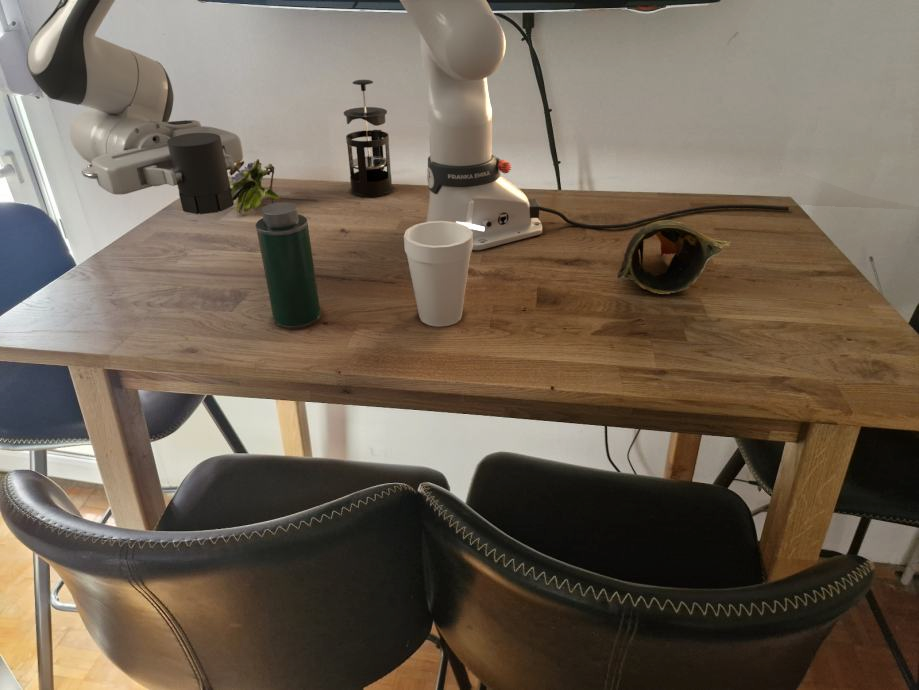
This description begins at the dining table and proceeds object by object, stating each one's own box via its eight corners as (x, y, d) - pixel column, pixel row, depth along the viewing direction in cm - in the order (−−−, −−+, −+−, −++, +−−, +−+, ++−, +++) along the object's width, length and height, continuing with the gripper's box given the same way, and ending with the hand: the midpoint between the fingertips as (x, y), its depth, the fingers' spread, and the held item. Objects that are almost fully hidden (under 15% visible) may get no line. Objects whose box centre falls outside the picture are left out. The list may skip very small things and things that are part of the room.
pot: (691, 200, 110) (726, 203, 93) (707, 262, 113) (744, 277, 95) (593, 232, 113) (609, 241, 95) (610, 293, 115) (629, 313, 98)
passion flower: (248, 227, 140) (246, 173, 141) (293, 221, 137) (291, 166, 138) (215, 214, 129) (214, 155, 130) (263, 207, 126) (261, 147, 127)
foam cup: (449, 338, 90) (447, 253, 83) (396, 321, 94) (390, 238, 87) (483, 310, 97) (484, 228, 90) (432, 295, 101) (429, 216, 94)
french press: (383, 200, 138) (375, 86, 126) (342, 196, 140) (330, 84, 128) (401, 183, 147) (394, 75, 135) (362, 180, 149) (353, 74, 137)
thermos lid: (231, 194, 93) (219, 130, 88) (234, 210, 87) (221, 143, 83) (183, 200, 91) (167, 135, 86) (183, 216, 85) (166, 148, 81)
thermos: (316, 303, 99) (301, 196, 90) (324, 324, 94) (308, 213, 85) (271, 311, 97) (250, 203, 88) (276, 333, 92) (255, 220, 83)
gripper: (67, 147, 84) (123, 166, 77) (203, 117, 98) (261, 130, 91) (82, 194, 88) (138, 216, 81) (212, 158, 101) (269, 175, 94)
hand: (204, 170), depth 86 cm, fingers closed on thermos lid, 6 cm apart
